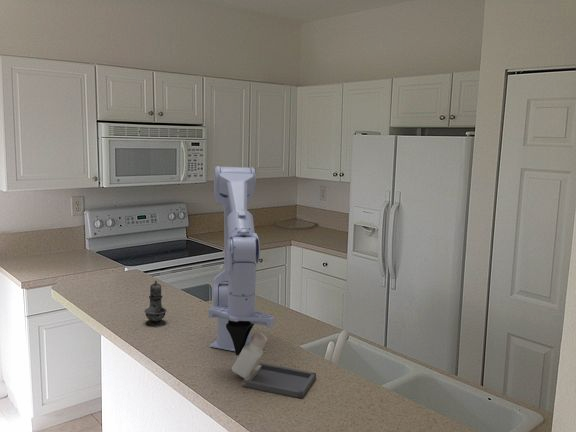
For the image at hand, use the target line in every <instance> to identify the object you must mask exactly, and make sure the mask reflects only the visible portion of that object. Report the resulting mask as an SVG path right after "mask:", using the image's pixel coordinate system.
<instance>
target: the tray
mask: <svg viewBox="0 0 576 432" xmlns="http://www.w3.org/2000/svg"><path fill="white" fill-rule="evenodd" d="M316 379H317V372H311V371H307V370H301V369H295V368H291V367H286V366H279V365H275V364H269V363H263V362H260V363H259V364H258V365H256V366H255V368H254V369H253V371H252V372H251V374H250V375H249V376H247V377H246V378H243V380H242V381H241V387H242V388H249V389H253V390H258V391H260V392H261V391H263V392H268V393H272V394H275V395H276V394H277V395H281V396H286V397H291V398H295V397H296V398H295V399H300V398H301V400H302V399H304V397H303V396H305V395H306V394H307V392H308V391H309V390H310V388H311V386H313V383H314V382H315V380H316Z"/></svg>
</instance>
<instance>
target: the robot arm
mask: <svg viewBox="0 0 576 432" xmlns="http://www.w3.org/2000/svg"><path fill="white" fill-rule="evenodd" d="M256 177H257V175H256V170H255V168H254V167H253V166H251V167H243V166H242V167H241V166H237V167H235V166H219V165H217V166H216V167H215V168H214V174H213V187H214V188H213V191H214V192H213V193H214V195H213V196H214V200H215V202H218V203H219V204H221V206H222V210H223V214H224V215H223V221H224V223H223V225H224V226H223V228H224V230H223V236H224V237H223V238H224V239H223V241H224V243H223V244H224V245H223V247H224V248H223V250H224V251H223V253H224V255H223V257H224V258H223V261H224V265H223V267H224V269H223V270H222V271H221V272H219V273H218V274H217V275H215V276H214V279H213V281H212V293H211V294H212V297H211V298H212V306H211V307H210V308H208V311H207V313H208V314H207V315H208V319H209V318H211V319H213V318H217V326H216V330H217V331H216V340H215V341H214V342H212V343H211V344H210V348H215V349H219V350H227V351H231V352H235V353H234V354H235V355H236V356H239V354H240V352H241V351H242V349H243V347H244V346H245V345H246V344H247V343H248V342H249V343H250V340H251V338H252V329H253V327H254V325H259V326H264V327H265V326H266V328H270V329H272V327H274V325H275V316H274V315H269V314H267V313H263V312H260V311H257V310H256V309H255V308H256V307H255V306H256V282H257V280H256V278H257V277H256V276H257V265H258V264H259V260H260V254H261V250H260V249H261V246H260V245H261V244H260V239H259V236H258V233H257V232H256V233H255V223H254V217H253V214H252V213H251V212H249V210H248V203H250V202H252V199H253V197H254V193H255V189H256V183H257V178H256Z"/></svg>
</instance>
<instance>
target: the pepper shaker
mask: <svg viewBox="0 0 576 432" xmlns="http://www.w3.org/2000/svg"><path fill="white" fill-rule="evenodd" d="M251 337H252V338H251V340H250V343H249V342H248V343H247V344H246V345H245V346H244V347H243V349H242V351H241V352H240V354H239V355H237V358H236V360H235V361H234V363H233V365H232V366H231V371H232V372H233V373H235V374H236V375H238V376H239V377H241V378H243V379H245V378H246V377H247V376H249V375H250V374H251V372H252V371H253V370H254V369H255V368H256V367H257V364H258V362H259V360H260V359H261V357H262V356H263V354H264V351H263V349H264V348H265V346H266V344H267V342H268V337H267V336H266V335H265V334H263V333H262V332H259V331H256V332H253V335H251Z"/></svg>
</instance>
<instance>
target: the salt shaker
mask: <svg viewBox="0 0 576 432" xmlns="http://www.w3.org/2000/svg"><path fill="white" fill-rule="evenodd" d="M149 289H150V290H149V292H150V293H149V296H148V299H149V307H148V308H146V309H144V312H143V313H144V314H145V317H146V318H147V319H148V320H146V321H145V325H146V326H148V327H151V328H152V327H153V328H154V327H162V326H164V325H166V321H165V320H163V319H164V318H165V316H166V312H168V311H167V309H166V308H165V307H163V305H162V299H163V297H164V296H163V295H162V285H161V284H160V283H158V281H157V280H154V283H152V284H151V285H150V287H149Z"/></svg>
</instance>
